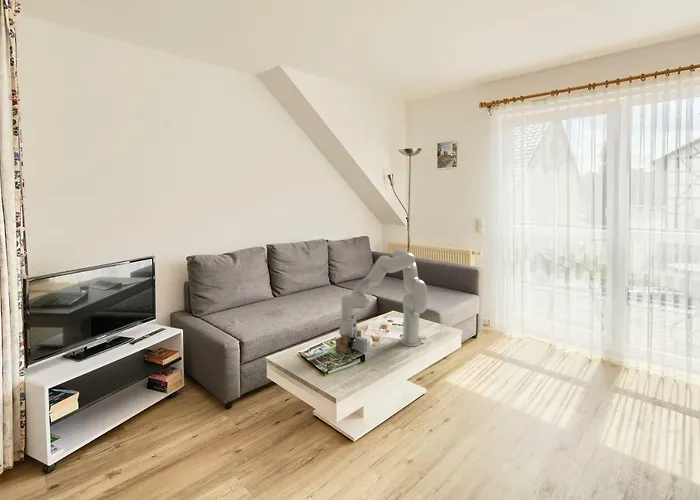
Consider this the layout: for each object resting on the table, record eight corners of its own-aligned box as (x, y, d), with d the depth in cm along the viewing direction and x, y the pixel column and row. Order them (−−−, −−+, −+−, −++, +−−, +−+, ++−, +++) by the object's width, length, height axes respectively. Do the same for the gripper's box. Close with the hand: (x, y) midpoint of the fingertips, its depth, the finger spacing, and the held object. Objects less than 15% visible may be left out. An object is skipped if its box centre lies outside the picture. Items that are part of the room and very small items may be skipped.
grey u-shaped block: (343, 345, 237) (343, 333, 235) (346, 344, 239) (346, 331, 238) (363, 353, 227) (363, 340, 225) (366, 351, 229) (367, 338, 227)
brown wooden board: (357, 342, 236) (357, 329, 235) (360, 343, 234) (361, 330, 233) (335, 352, 222) (335, 339, 221) (339, 353, 220) (339, 340, 219)
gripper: (363, 318, 222) (362, 348, 225) (341, 311, 232) (341, 340, 236) (354, 321, 216) (354, 352, 219) (333, 315, 227) (333, 344, 230)
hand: (347, 346), depth 227 cm, fingers closed on brown wooden board, 3 cm apart
